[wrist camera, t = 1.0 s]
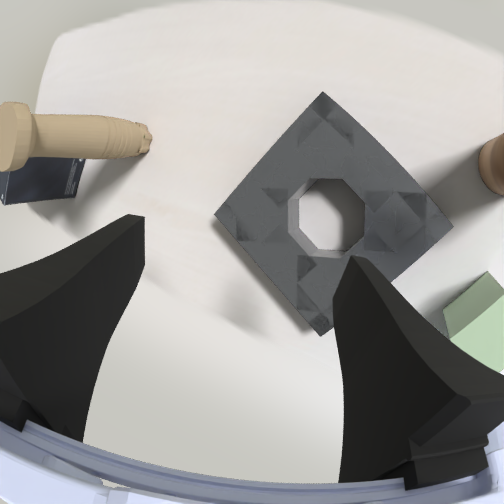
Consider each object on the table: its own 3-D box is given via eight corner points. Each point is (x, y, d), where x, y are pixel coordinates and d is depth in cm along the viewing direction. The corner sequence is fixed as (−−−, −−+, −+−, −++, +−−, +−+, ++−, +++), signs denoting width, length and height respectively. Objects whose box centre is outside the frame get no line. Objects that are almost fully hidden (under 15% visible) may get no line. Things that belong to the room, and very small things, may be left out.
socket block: (448, 222, 19) (453, 226, 17) (328, 324, 25) (320, 337, 23) (330, 99, 21) (322, 91, 19) (229, 211, 27) (213, 214, 24)
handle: (157, 173, 29) (10, 181, 16) (117, 154, 31) (-13, 158, 18) (171, 124, 27) (22, 108, 14) (129, 111, 30) (-3, 98, 16)
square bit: (514, 314, 18) (534, 343, 13) (471, 350, 20) (481, 385, 15) (487, 270, 18) (506, 292, 14) (442, 309, 20) (449, 339, 16)
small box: (89, 151, 33) (12, 153, 24) (76, 199, 36) (3, 209, 27) (55, 124, 36) (-10, 123, 27) (44, 166, 39) (-18, 170, 30)
